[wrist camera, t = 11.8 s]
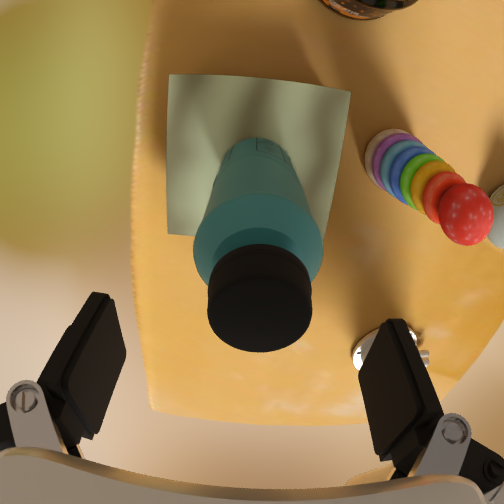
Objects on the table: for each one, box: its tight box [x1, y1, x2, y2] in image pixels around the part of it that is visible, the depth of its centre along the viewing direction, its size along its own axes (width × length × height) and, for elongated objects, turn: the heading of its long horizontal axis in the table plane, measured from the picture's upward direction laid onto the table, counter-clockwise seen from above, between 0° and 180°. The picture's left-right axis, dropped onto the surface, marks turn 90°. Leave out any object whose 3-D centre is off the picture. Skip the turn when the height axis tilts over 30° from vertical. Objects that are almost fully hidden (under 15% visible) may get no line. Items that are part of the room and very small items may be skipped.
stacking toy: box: [365, 129, 494, 246], centre depth 27 cm, size 8×8×19 cm
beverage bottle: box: [193, 137, 323, 352], centre depth 20 cm, size 6×7×20 cm
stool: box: [166, 74, 351, 241], centre depth 32 cm, size 16×16×8 cm
